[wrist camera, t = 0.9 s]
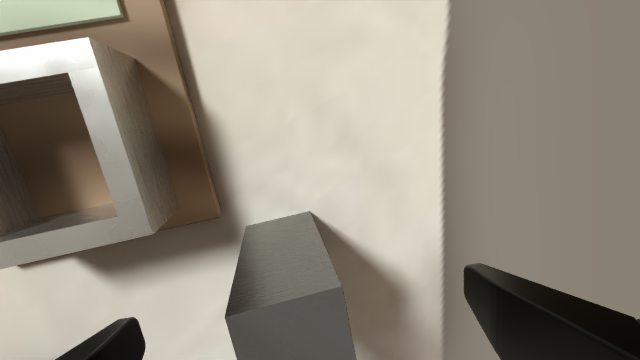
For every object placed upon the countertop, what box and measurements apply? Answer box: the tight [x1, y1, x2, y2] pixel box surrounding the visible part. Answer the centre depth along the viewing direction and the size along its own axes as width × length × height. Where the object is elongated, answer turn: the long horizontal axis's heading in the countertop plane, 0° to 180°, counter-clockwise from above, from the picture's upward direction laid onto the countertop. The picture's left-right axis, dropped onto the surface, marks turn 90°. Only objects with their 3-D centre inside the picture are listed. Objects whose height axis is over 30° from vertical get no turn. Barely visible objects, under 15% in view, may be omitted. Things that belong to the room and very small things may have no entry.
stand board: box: [0, 0, 222, 231], centre depth 17 cm, size 22×13×1 cm, turn 11°
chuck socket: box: [0, 37, 180, 269], centre depth 16 cm, size 9×9×4 cm
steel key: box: [225, 211, 356, 360], centre depth 17 cm, size 4×4×10 cm
